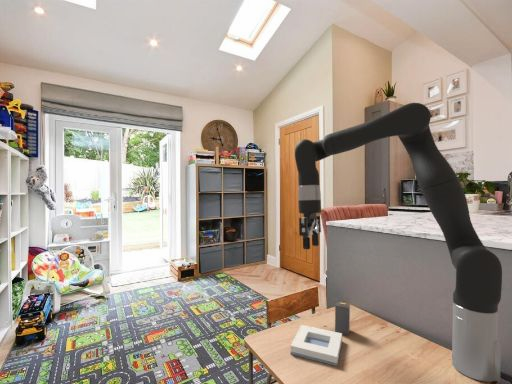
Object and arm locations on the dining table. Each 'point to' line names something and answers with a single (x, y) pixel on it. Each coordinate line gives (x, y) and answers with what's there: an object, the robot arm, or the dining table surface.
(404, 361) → the dining table surface
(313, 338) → the dock
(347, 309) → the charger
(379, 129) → the robot arm
